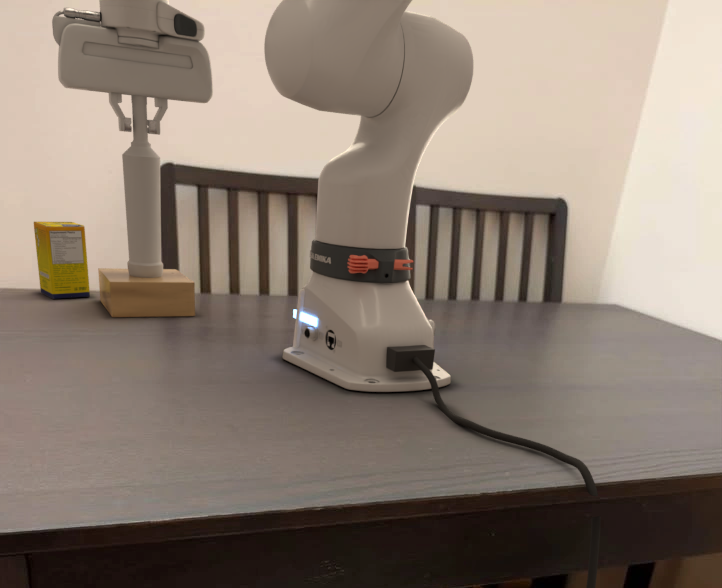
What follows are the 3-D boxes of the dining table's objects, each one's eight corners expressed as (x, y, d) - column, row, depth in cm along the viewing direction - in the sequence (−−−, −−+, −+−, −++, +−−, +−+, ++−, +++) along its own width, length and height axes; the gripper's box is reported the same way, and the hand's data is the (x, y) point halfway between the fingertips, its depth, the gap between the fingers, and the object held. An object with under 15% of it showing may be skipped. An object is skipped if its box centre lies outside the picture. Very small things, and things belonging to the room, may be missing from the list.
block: (195, 316, 110) (194, 282, 108) (112, 317, 105) (109, 281, 103) (177, 300, 119) (176, 269, 117) (100, 300, 114) (98, 268, 112)
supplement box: (76, 290, 120) (71, 221, 116) (90, 297, 116) (85, 225, 112) (39, 292, 116) (32, 220, 112) (52, 299, 112) (45, 225, 108)
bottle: (127, 271, 111) (118, 87, 101) (162, 272, 113) (157, 91, 103) (128, 277, 107) (119, 85, 97) (164, 278, 109) (159, 89, 98)
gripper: (52, 1, 90) (62, 125, 95) (216, 27, 98) (216, 139, 104) (48, 7, 95) (57, 125, 100) (204, 31, 103) (204, 138, 109)
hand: (139, 132), depth 102 cm, fingers closed
